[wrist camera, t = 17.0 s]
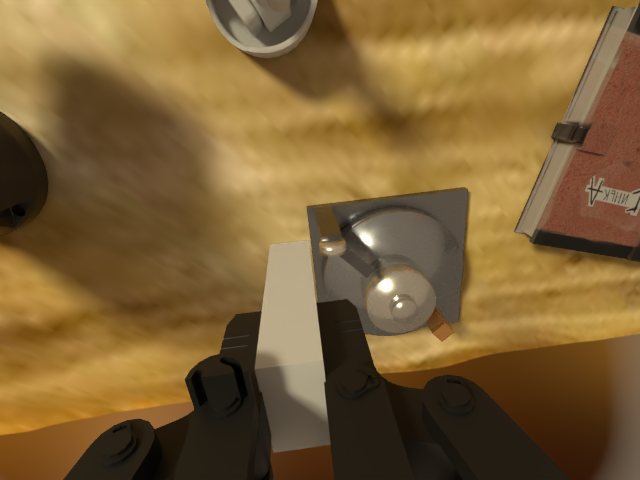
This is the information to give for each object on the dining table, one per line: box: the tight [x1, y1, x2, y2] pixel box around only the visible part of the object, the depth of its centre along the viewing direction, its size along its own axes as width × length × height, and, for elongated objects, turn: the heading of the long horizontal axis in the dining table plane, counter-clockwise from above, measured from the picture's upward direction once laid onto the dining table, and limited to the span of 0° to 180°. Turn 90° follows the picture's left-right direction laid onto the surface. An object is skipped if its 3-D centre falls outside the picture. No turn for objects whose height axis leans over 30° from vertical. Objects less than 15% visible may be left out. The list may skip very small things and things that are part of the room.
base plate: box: [307, 187, 468, 334], centre depth 48 cm, size 20×20×1 cm
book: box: [514, 3, 640, 262], centre depth 42 cm, size 26×18×5 cm
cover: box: [360, 255, 436, 333], centre depth 42 cm, size 8×8×6 cm
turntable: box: [323, 207, 463, 341], centre depth 44 cm, size 18×18×6 cm
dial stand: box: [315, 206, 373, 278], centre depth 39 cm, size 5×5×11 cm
